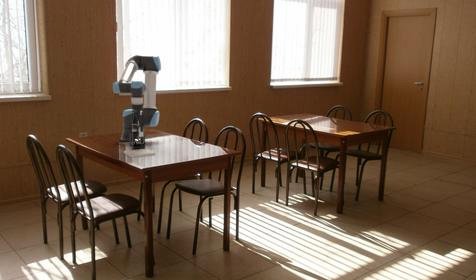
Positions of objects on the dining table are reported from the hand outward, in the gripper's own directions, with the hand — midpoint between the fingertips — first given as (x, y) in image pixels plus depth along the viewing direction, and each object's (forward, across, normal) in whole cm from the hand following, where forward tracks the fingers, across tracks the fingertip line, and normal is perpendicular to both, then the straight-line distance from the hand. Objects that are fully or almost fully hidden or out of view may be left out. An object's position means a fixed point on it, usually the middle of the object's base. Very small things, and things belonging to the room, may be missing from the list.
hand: (137, 134), depth 317 cm
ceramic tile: (+10, +13, -4) cm, 17 cm away
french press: (+10, 0, 0) cm, 11 cm away
